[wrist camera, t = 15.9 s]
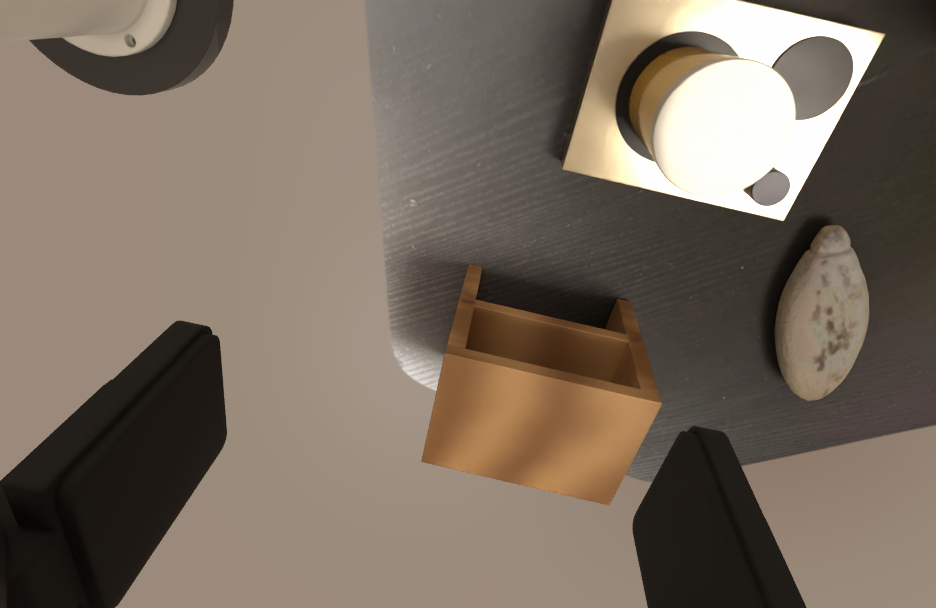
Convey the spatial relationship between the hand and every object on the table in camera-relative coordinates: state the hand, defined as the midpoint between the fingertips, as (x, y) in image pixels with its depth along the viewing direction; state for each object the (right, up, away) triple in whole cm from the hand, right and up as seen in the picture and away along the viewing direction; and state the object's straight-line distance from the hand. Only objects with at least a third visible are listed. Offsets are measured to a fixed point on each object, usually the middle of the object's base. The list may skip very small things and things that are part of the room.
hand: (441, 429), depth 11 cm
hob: (+16, +16, +25) cm, 34 cm away
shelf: (+6, 0, +36) cm, 37 cm away
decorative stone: (+28, +2, +32) cm, 43 cm away
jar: (+14, +15, +23) cm, 31 cm away
